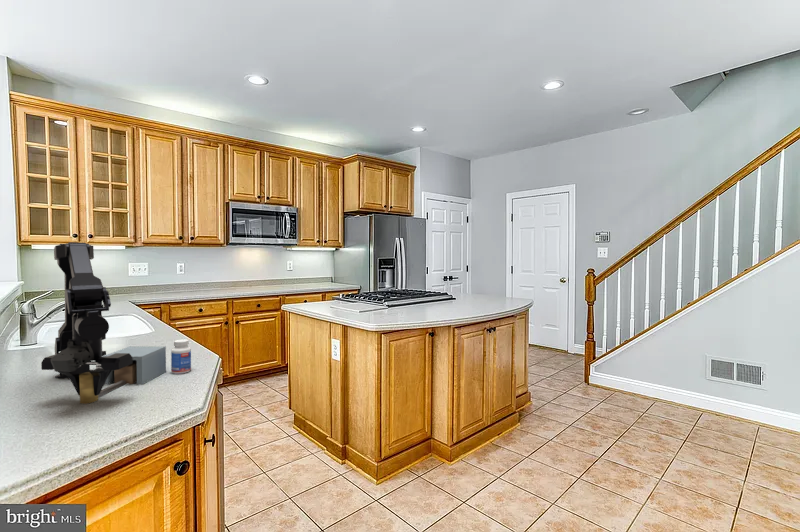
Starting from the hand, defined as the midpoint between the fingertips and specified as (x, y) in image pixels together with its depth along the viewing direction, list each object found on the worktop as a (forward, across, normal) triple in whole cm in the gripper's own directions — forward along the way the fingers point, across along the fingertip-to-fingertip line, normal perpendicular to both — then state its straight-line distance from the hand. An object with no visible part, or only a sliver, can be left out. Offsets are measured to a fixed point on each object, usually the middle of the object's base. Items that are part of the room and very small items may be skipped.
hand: (88, 395), depth 98 cm
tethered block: (+2, 0, +8) cm, 8 cm away
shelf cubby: (+2, 0, +17) cm, 17 cm away
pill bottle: (+2, +10, +24) cm, 26 cm away
